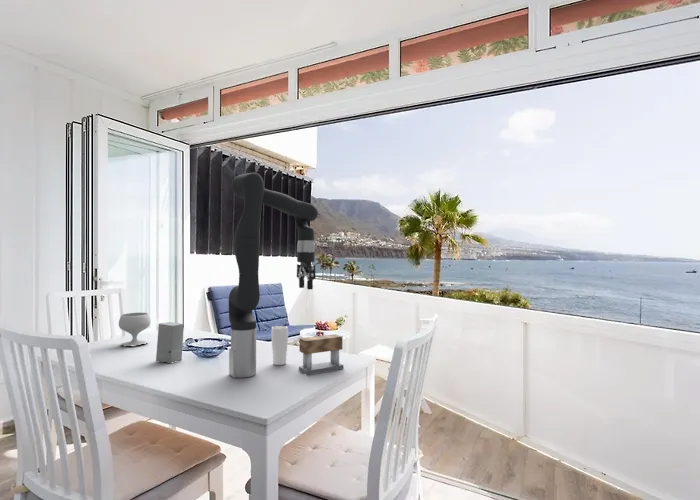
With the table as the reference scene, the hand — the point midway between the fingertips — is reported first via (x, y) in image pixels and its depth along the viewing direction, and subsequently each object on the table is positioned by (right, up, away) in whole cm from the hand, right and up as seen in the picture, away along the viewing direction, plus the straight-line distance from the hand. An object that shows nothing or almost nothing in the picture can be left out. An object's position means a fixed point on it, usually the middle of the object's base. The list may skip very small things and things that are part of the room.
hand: (305, 288), depth 177 cm
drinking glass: (-10, -30, -9) cm, 33 cm away
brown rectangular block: (+8, -23, -17) cm, 30 cm away
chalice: (-88, -30, +25) cm, 96 cm away
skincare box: (-57, -30, -5) cm, 64 cm away
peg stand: (+8, -30, -18) cm, 36 cm away
